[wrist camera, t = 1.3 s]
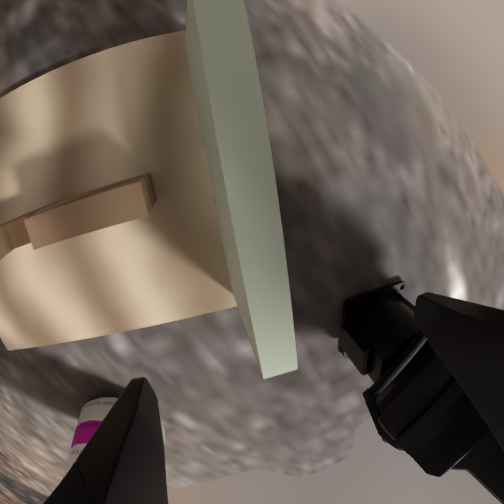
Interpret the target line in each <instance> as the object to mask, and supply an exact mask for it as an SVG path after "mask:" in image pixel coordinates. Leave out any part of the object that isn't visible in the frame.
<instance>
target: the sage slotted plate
mask: <svg viewBox="0 0 504 504" xmlns="http://www.w3.org/2000/svg"><path fill="white" fill-rule="evenodd" d="M185 46H186V53H187V59H188V65H189V71H190V77H191V83H192V89H193V95H194V101H195V107H196V112H197V118H198V123H199V129H200V134H201V140H202V145H203V148H205V149H206V154H207V160H208V165H209V170H210V175H211V180H212V186H213V191H214V196H215V198H213V202H214V207H215V212H216V217H217V222H218V227H219V231H220V236H221V241H222V246H223V250H224V255H225V260H226V264H227V269H228V273H229V278H230V283H231V287H232V292H233V295H234V298H235V301H236V304H237V307H238V310H239V313H240V315H241V318H242V321H243V324H244V327H245V330H246V332H247V335H248V338H249V341H250V343H251V346H252V349H253V352H254V354H255V357H256V360H257V363H258V365H259V368H260V371H261V373H262V376H263V379H266V378H270V377H273V376H277V375H280V374H283V373H287V372H290V371H293V370H296V369H298V366H297V355H296V344H295V334H294V324H293V315H292V305H291V296H290V287H289V279H288V270H287V262H286V254H285V246H284V238H283V230H282V222H281V215H280V207H279V200H278V193H277V186H276V179H275V172H274V166H273V159H272V152H271V146H270V139H269V133H268V127H267V121H266V115H265V109H264V103H263V97H262V91H261V85H260V80H259V74H258V68H257V63H256V58H255V52H254V47H253V42H252V37H251V31H250V26H249V21H248V16H247V11H246V7H245V2H244V0H187V15H186V36H185Z"/></svg>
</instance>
